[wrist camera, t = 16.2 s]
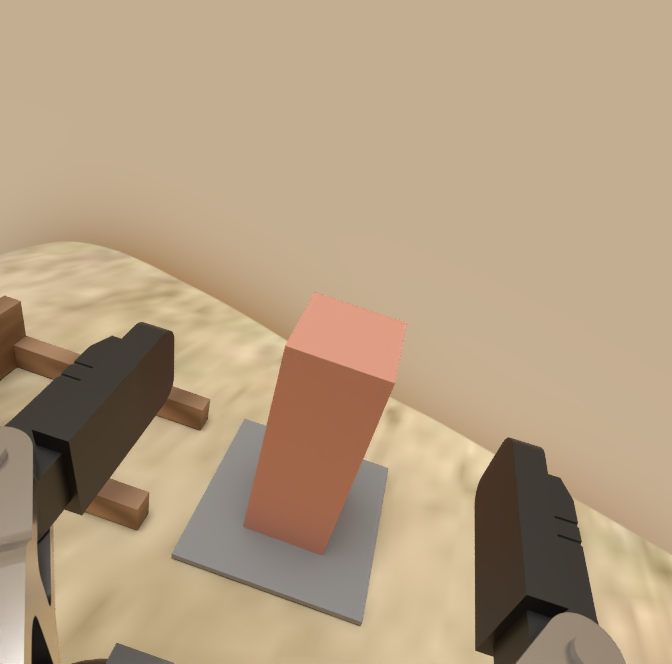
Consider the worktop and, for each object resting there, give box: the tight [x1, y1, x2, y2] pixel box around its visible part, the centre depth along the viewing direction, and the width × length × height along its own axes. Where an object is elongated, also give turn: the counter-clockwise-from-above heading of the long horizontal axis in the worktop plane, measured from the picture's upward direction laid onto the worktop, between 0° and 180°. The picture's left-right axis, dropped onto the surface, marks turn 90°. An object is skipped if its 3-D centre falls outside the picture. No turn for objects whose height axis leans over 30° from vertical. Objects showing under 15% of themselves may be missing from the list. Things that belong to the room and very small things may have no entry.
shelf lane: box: [0, 296, 210, 530], centre depth 31 cm, size 16×9×5 cm, turn 76°
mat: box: [172, 419, 388, 625], centre depth 32 cm, size 11×11×1 cm
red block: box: [243, 292, 407, 556], centre depth 28 cm, size 5×5×14 cm
